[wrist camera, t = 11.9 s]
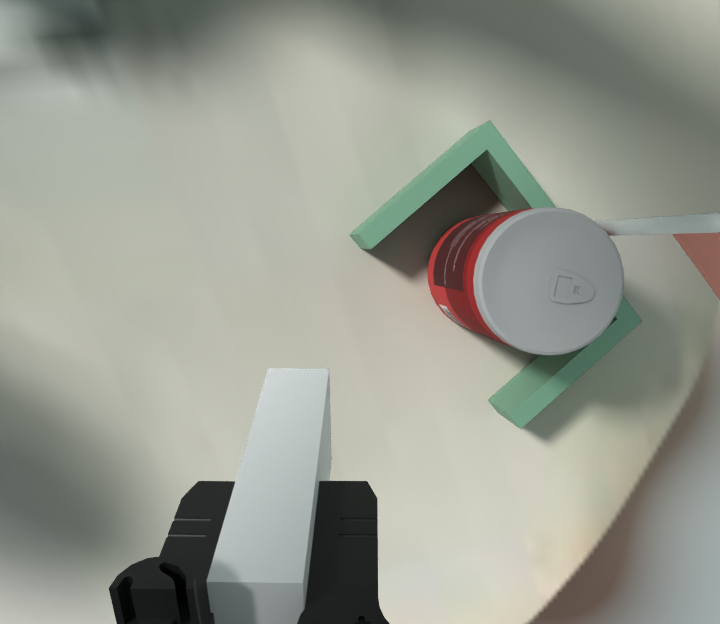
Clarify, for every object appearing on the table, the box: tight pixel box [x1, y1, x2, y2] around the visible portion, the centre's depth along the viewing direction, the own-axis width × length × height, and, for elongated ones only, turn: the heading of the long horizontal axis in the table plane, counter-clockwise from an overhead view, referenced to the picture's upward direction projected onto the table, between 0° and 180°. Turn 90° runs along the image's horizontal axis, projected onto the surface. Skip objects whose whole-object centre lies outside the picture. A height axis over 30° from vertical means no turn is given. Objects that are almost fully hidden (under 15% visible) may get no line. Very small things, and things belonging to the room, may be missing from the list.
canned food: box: [428, 207, 624, 355], centre depth 39 cm, size 8×8×11 cm
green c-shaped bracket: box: [350, 120, 720, 429], centre depth 35 cm, size 16×10×18 cm, turn 41°
